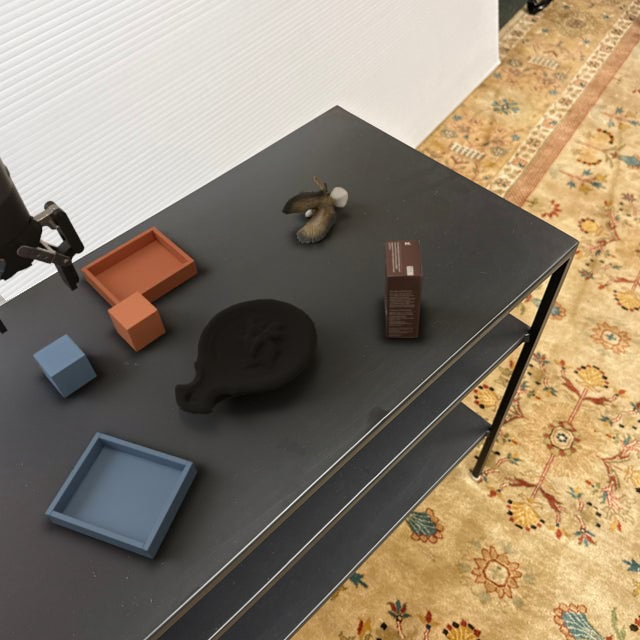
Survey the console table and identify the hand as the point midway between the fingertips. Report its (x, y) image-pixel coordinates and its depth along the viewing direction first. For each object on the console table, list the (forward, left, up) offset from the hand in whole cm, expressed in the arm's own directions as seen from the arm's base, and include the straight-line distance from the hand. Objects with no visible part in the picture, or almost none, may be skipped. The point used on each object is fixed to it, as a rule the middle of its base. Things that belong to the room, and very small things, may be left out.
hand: (37, 306), depth 71 cm
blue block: (-1, 0, -13) cm, 13 cm away
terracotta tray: (-1, +18, -13) cm, 22 cm away
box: (+36, +21, -14) cm, 44 cm away
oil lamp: (+20, +7, -14) cm, 25 cm away
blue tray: (+14, -12, -13) cm, 23 cm away
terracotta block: (+4, +9, -13) cm, 17 cm away
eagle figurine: (+19, +36, -14) cm, 43 cm away
